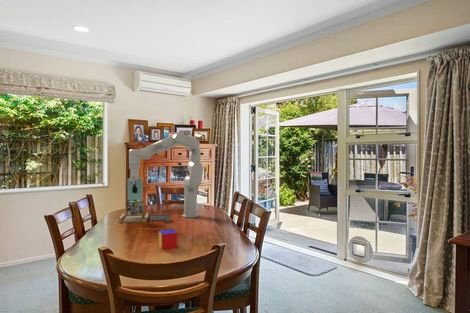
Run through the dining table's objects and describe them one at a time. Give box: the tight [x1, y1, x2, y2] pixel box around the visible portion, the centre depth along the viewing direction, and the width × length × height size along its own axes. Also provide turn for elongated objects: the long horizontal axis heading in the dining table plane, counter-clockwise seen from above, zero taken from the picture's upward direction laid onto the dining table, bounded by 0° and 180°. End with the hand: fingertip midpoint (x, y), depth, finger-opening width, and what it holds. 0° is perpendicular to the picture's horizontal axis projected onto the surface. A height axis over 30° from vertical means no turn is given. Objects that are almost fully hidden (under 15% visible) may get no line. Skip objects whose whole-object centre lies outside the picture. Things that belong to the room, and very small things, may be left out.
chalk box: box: [126, 199, 145, 215], centre depth 242 cm, size 9×9×15 cm
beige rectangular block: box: [124, 216, 143, 223], centre depth 218 cm, size 5×12×3 cm, turn 100°
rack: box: [118, 212, 150, 224], centre depth 223 cm, size 16×18×4 cm
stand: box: [149, 214, 171, 223], centre depth 224 cm, size 8×14×4 cm, turn 100°
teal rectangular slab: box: [126, 177, 143, 201], centre depth 223 cm, size 2×10×15 cm, turn 100°
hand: (135, 192), depth 223 cm, fingers closed on teal rectangular slab, 2 cm apart
